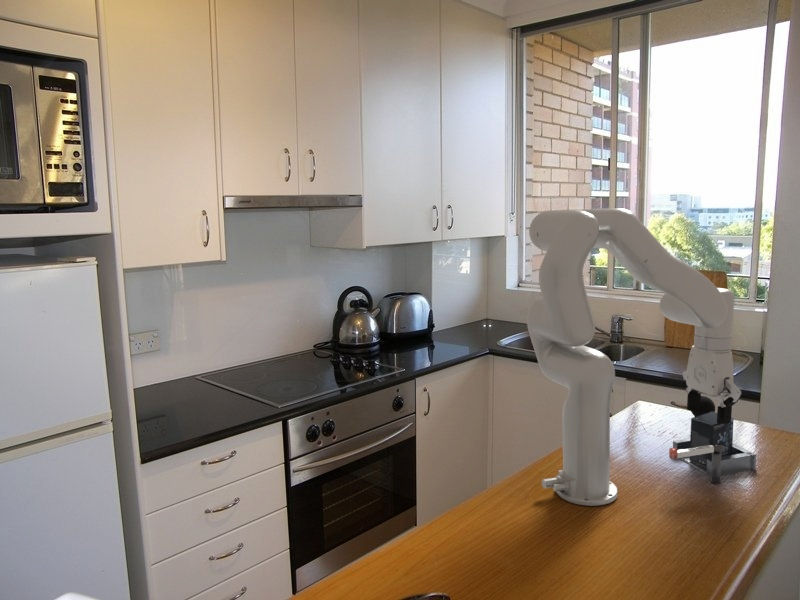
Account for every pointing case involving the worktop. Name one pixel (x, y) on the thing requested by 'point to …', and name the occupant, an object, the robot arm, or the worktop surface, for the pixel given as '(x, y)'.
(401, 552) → the worktop surface
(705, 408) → the light bulb
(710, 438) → the box
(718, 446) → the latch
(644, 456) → the worktop surface
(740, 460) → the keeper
